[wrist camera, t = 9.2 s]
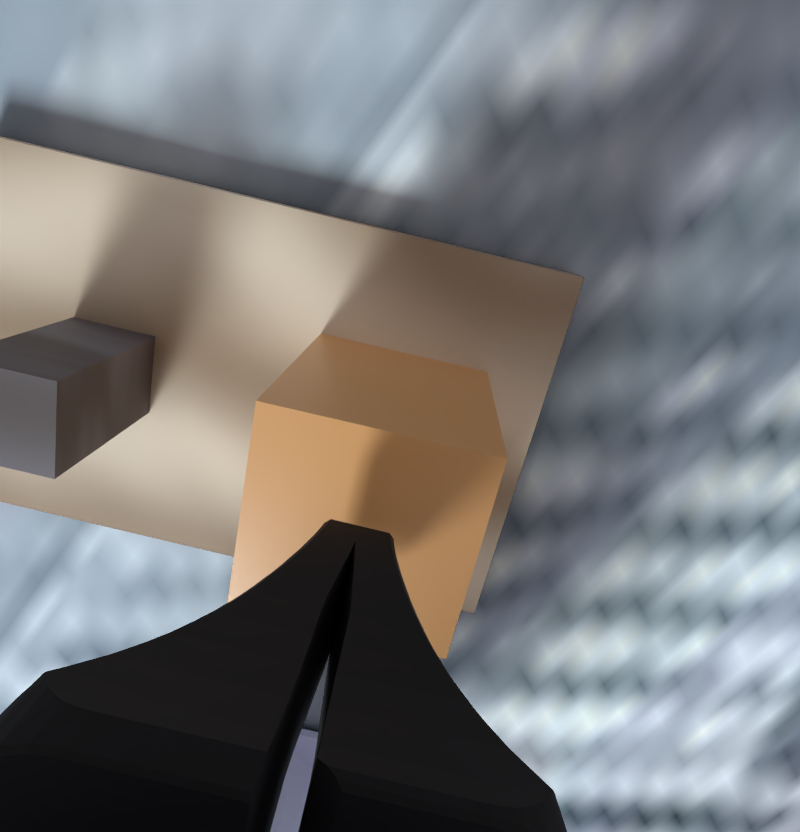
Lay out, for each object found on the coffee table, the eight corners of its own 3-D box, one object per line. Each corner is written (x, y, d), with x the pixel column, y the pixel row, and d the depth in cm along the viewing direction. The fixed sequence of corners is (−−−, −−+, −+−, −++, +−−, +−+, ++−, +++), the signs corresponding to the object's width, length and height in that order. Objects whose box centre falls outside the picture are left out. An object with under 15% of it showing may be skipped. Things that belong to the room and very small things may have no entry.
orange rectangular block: (446, 517, 20) (445, 659, 14) (294, 482, 20) (226, 608, 14) (487, 371, 18) (507, 459, 12) (320, 333, 18) (255, 400, 12)
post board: (473, 599, 22) (481, 730, 17) (-6, 486, 22) (-156, 580, 16) (578, 274, 18) (635, 306, 12) (-11, 133, 18) (-213, 102, 12)
